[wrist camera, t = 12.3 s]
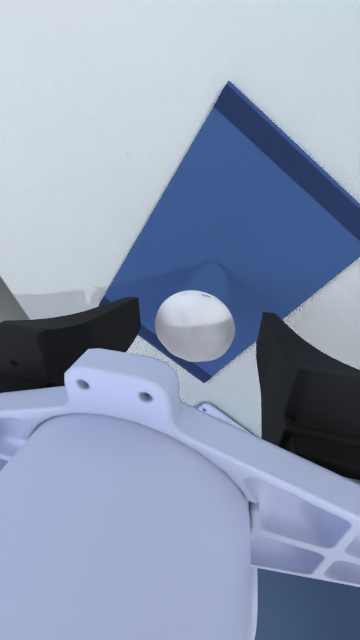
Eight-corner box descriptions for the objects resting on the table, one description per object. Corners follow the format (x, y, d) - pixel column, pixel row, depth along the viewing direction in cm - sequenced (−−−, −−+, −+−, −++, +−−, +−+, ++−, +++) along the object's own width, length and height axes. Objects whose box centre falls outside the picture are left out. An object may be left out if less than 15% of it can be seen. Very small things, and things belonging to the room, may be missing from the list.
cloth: (204, 381, 26) (203, 383, 26) (99, 304, 25) (98, 306, 24) (387, 231, 16) (390, 232, 16) (229, 82, 14) (228, 79, 14)
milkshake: (252, 255, 19) (256, 313, 10) (226, 311, 21) (214, 394, 13) (197, 236, 19) (157, 277, 10) (179, 294, 22) (136, 364, 13)
